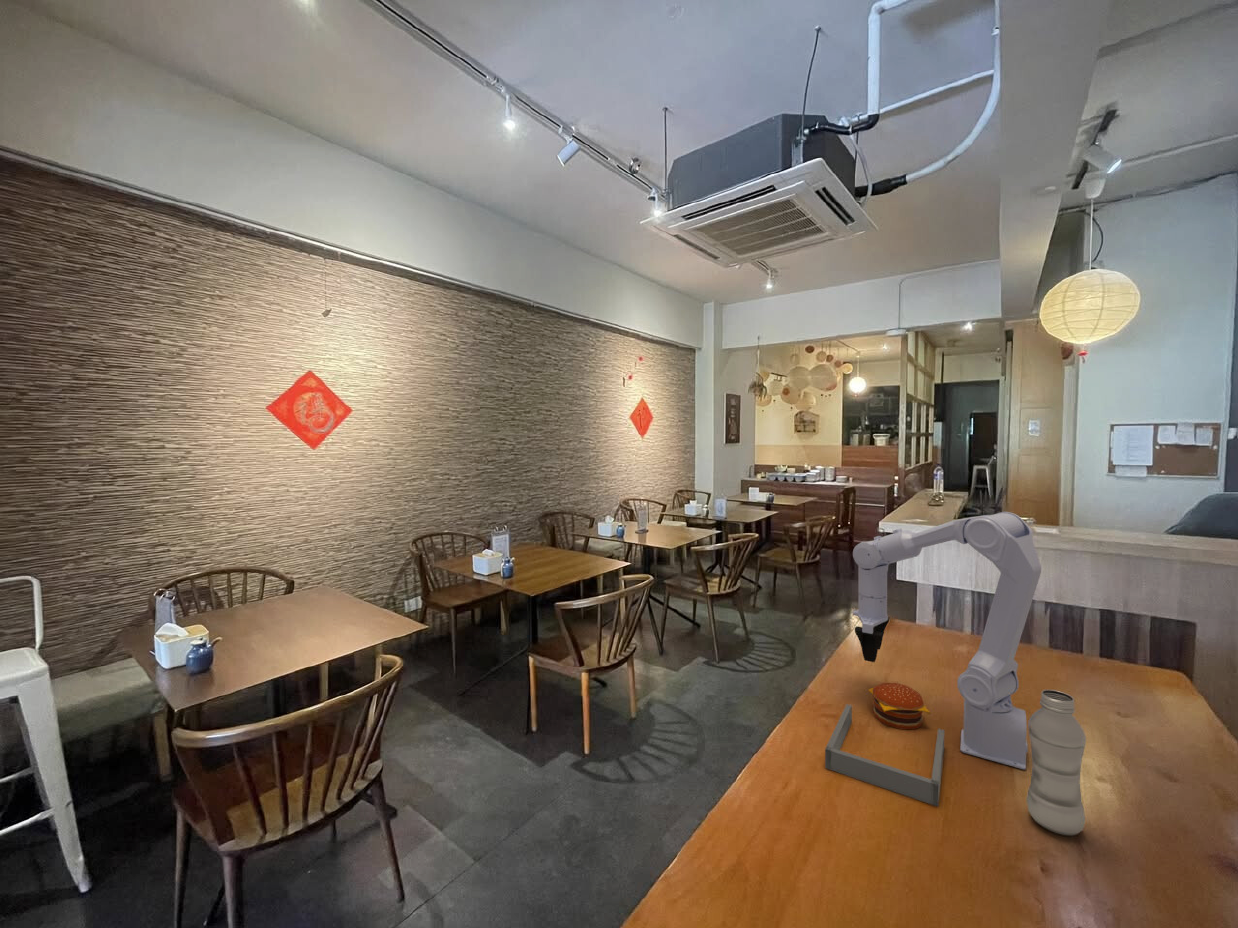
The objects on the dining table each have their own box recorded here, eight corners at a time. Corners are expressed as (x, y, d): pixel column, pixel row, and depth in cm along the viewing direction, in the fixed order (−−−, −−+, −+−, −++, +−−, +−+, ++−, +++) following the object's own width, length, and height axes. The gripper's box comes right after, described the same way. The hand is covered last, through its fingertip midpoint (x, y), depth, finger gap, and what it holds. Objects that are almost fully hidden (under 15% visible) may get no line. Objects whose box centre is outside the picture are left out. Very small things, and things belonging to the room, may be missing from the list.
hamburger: (864, 705, 110) (864, 676, 110) (910, 707, 110) (911, 677, 109) (883, 730, 101) (883, 698, 101) (933, 732, 100) (934, 699, 100)
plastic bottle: (1096, 845, 72) (1100, 708, 71) (1041, 839, 73) (1045, 704, 72) (1066, 812, 78) (1069, 686, 77) (1016, 807, 80) (1019, 683, 79)
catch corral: (944, 748, 95) (944, 730, 95) (938, 806, 80) (938, 785, 80) (846, 720, 105) (846, 703, 104) (825, 767, 90) (825, 748, 90)
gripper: (858, 583, 121) (858, 639, 122) (846, 600, 109) (846, 662, 110) (892, 588, 117) (891, 645, 118) (883, 606, 105) (883, 670, 106)
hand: (872, 654), depth 113 cm, fingers open, 7 cm apart
